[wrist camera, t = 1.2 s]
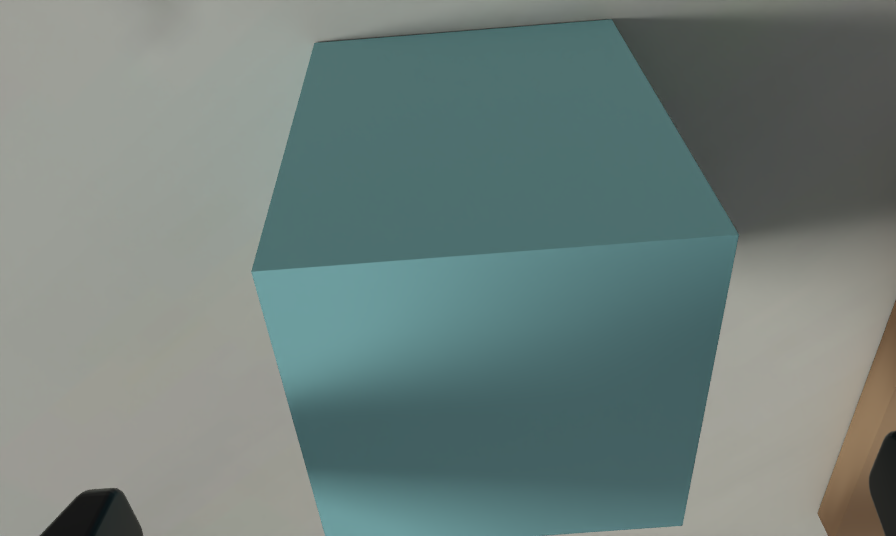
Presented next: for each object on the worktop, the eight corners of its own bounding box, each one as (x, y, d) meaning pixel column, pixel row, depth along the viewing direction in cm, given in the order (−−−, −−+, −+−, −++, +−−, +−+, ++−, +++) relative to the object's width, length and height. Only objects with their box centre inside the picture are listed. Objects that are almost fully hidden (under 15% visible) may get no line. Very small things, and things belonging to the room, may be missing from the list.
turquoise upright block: (596, 258, 17) (681, 525, 11) (356, 276, 17) (329, 550, 11) (611, 19, 13) (738, 234, 8) (314, 42, 14) (251, 271, 8)
